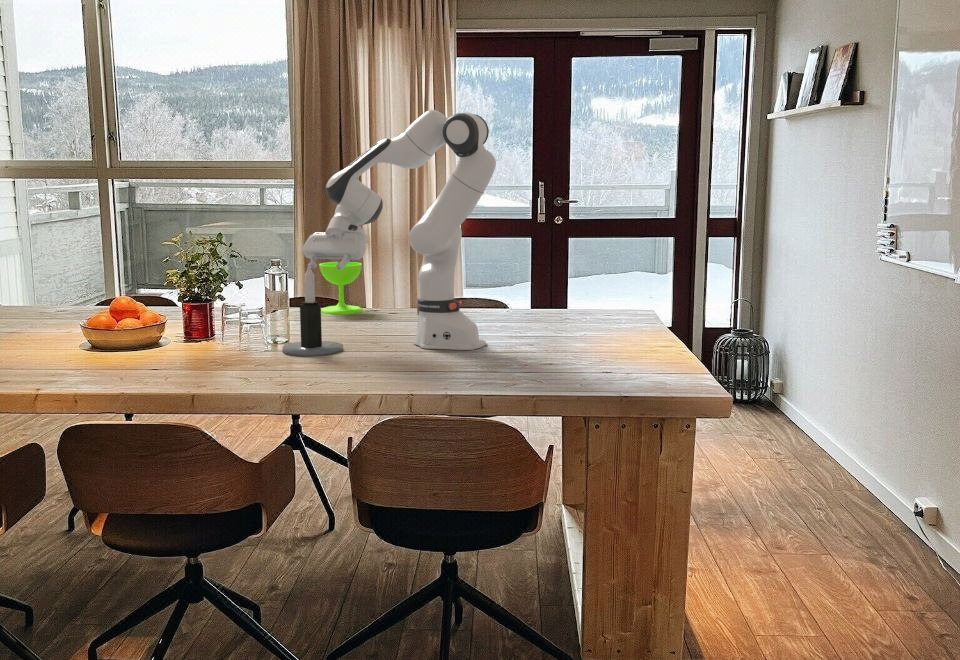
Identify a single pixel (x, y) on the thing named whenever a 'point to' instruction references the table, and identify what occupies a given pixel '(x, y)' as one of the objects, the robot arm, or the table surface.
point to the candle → (310, 314)
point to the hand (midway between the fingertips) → (325, 267)
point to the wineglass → (341, 285)
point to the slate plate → (312, 349)
